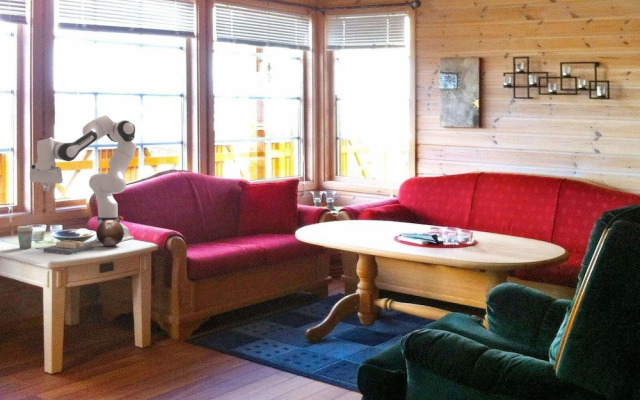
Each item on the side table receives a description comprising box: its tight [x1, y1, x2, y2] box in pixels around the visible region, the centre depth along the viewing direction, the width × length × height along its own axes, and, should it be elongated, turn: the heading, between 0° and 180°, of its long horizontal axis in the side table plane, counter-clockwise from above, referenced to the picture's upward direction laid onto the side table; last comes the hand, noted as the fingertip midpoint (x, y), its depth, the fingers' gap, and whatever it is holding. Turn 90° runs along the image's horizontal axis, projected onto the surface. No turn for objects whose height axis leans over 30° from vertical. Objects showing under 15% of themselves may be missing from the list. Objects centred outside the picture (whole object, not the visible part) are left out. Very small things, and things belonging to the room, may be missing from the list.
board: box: [42, 244, 93, 255], centre depth 445 cm, size 18×18×2 cm
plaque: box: [55, 239, 85, 249], centre depth 444 cm, size 8×3×12 cm
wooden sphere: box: [95, 220, 124, 247], centre depth 459 cm, size 15×15×15 cm
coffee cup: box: [16, 225, 34, 250], centre depth 449 cm, size 8×8×12 cm
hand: (46, 190), depth 454 cm, fingers closed
